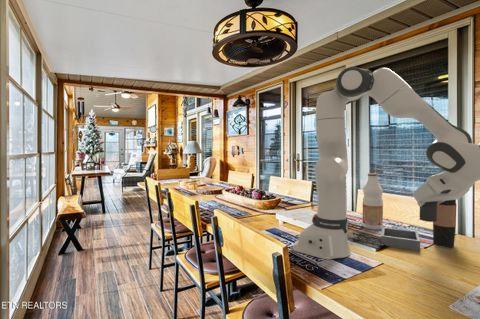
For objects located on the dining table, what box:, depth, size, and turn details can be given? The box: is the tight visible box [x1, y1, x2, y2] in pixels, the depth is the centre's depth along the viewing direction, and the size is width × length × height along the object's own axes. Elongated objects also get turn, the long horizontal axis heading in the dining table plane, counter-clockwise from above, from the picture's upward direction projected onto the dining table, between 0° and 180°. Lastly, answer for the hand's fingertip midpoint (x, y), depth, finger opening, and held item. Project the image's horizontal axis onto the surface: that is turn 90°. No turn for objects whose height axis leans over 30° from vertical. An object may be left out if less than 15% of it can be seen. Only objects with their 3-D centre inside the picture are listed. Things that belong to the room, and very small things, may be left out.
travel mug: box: [432, 200, 457, 249], centre depth 116 cm, size 8×8×20 cm
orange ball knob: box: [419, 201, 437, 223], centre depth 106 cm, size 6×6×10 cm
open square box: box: [380, 226, 421, 252], centre depth 119 cm, size 14×14×4 cm
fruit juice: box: [362, 172, 384, 231], centre depth 141 cm, size 9×9×28 cm
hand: (426, 204), depth 106 cm, fingers closed on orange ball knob, 5 cm apart
